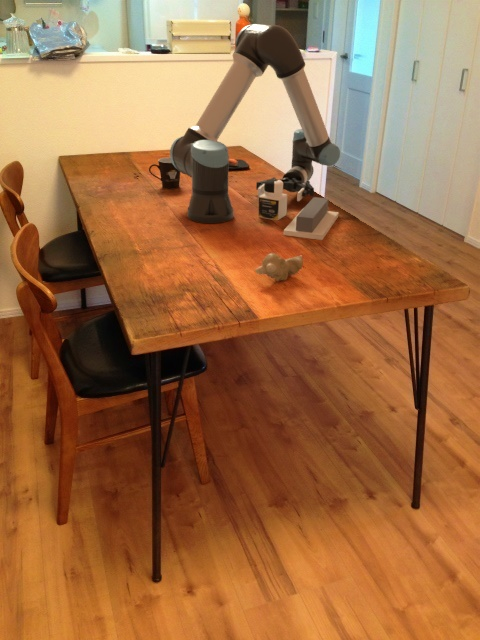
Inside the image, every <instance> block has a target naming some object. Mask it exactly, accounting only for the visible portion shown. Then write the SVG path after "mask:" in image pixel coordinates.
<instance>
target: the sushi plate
mask: <svg viewBox="0 0 480 640" xmlns="http://www.w3.org/2000/svg"><path fill="white" fill-rule="evenodd" d="M249 167H250V164H249V163H247V162H246V161H245V160H243V159H236V158H229V168H228V171H229V170H240V169H247V168H249Z"/></svg>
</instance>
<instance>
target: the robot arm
mask: <svg viewBox="0 0 480 640" xmlns="http://www.w3.org/2000/svg"><path fill="white" fill-rule="evenodd" d="M232 60H233V63H232V64H231V66H230V67H229V69H228V71H227V72H226V74H225V76H224V77H223V79H222V81H221V82H220V84H219V86H218V87H217V89H216V91H215V92H214V94H213V96H212V97H211V99H210V101H209V102H208V104H207V105H206V107H205V109H204V111H203V113H202V114H201V116H200V117H199V119H198V120H197V122H196V124H195V125H194V126H189V127H188V129H187V130H186V132H185V133H184V134H183V135H182V136H180V137H178V138H176V139H175V140H174V141H173V143H172V144H171V147H170V149H169V158H171V162H172V164H173V165H174V167H175V168H176V169H178V170H179V171H180V173H181V174H183V175H186V176H188V177H190V178H191V186H192V187H191V197H190V199H189V205H188V206H187V214H186V215H187V218H188V219H189V220H190V221H193V222H195V223H200V224H201V223H202V224H219V223H220V224H222V223H226V222H228V221H230V220H233V218H234V208H233V206H232V203H231V198H230V195H229V194H230V193H229V170H228V168H229V159H230V156H229V148H228V147H227V146H226V145H227V144H226V145H225V144H224V143H223V142H221V141H218V140H219V138H220V136H221V134H222V133H223V131H224V130H225V128H226V127H227V126H228V123H229V121H230V120H231V118H232V117H233V115H234V113H235V112H236V110H237V108H238V107H239V105H240V104H241V102H242V101H243V99H244V97H245V95H246V93H247V92H248V91H249V89H250V88H251V85H252V84H253V82H254V80H255V79H256V78H258V77H261V76H264V73H265V71H266V70H267V68H268V67H269V66H270V67H271V68H272V70H273V71H274V73H275V75H276V77H277V79H278V80H281V81H282V84H283V86H284V88H285V90H286V94H287V96H288V99H289V101H290V103H291V106H292V108H293V111H294V113H295V114H296V118H297V120H298V123H299V125H300V128H301V129H300V128H299V129H296V130H294V131H293V137H292V138H293V139H292V152H291V153H292V155H291V168H290V169H289V170H288V171H287V172H285V173H284V175H283V177H281V178H279V179H278V178H277V177H271V178H268V179H264V180H260V181H257V182H256V185H255V186H256V188H255V189H256V191H257V197H258V198H259V196H261V195H263V194H265V193H264V184H265V181H266V180H269V179H278V180H281V181H282V182H283V190H286V191H287V192H289V193H296V192H297V195H296V201H297V202H300V201H301V200H302V199H303V198H306V197H307V196H308V197H309V196H310V197H314V193H315V192H314V191H315V188H314V187H313V185H312V184H311V182H310V180H311V179H312V177H313V175H314V167H313V162H314V163H317V164H320V165H322V166H326V167H332V166H334V165H335V164H337V163H338V162H339V160H340V158H341V157H340V156H341V150H340V147H339V146H337V145H336V144H335V143H332V141H331V139H330V135H329V134H328V131H327V128H326V125H325V123H324V120H323V117H322V115H321V112H320V109H319V106H318V104H317V101H316V98H315V96H314V93H313V90H312V87H311V85H310V83H309V80H308V77H307V74H306V71H305V66H306V62H305V59H304V55H303V54H302V51H301V49H300V48H299V45H298V44H297V42H296V40H295V38H294V36H292V34H291V33H290V32H289V31H288V29H286V28H285V27H283V26H281V25H278V24H277V25H276V24H264V23H253V24H249V25H246V26H244V27H243V28H242V29H241V30H240V31H239V32H238V34H237V35H236V39H235V50H234V51H233V52H232Z"/></svg>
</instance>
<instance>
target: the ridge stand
mask: <svg viewBox="0 0 480 640" xmlns="http://www.w3.org/2000/svg"><path fill="white" fill-rule="evenodd" d="M329 199H330V198H327V197H319V196H318V197H316V196H312V198H311V199H310V200H309V202H308V203H307V204H306V205H305V206H304V207H303V208H302V209H301V210H300V211H299V212H298V214H297V215H296V216H295V217H294V218H293V220H292V221H290V222H289V224H288V225H287V226H286V227H285V228H284V229H283V236H289V237H297V238H302V239H312V240H318V241H323V240H324V238H325V237H326V235H327V234H328V233H329V232H330V230H331V228H332V226H333V225H334V224H335V222H336V221H337V219H338V217H339V212H338V211H329Z"/></svg>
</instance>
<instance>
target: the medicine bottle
mask: <svg viewBox="0 0 480 640" xmlns="http://www.w3.org/2000/svg"><path fill="white" fill-rule="evenodd" d="M268 179H269V180H268ZM268 179H265V180H266V181H265V184H264V193H263V194H262V195H261V196H259V197H258V218H261V219H267V220H272V221H277V222H278V221H279V220H281V219H282V218H284V217H285V216H287V213H288V212H287V211H288V209H287V208H288V194H287V193H284V189H283V182H282V181H281V180H278V178H276V179H271V178H268Z"/></svg>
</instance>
